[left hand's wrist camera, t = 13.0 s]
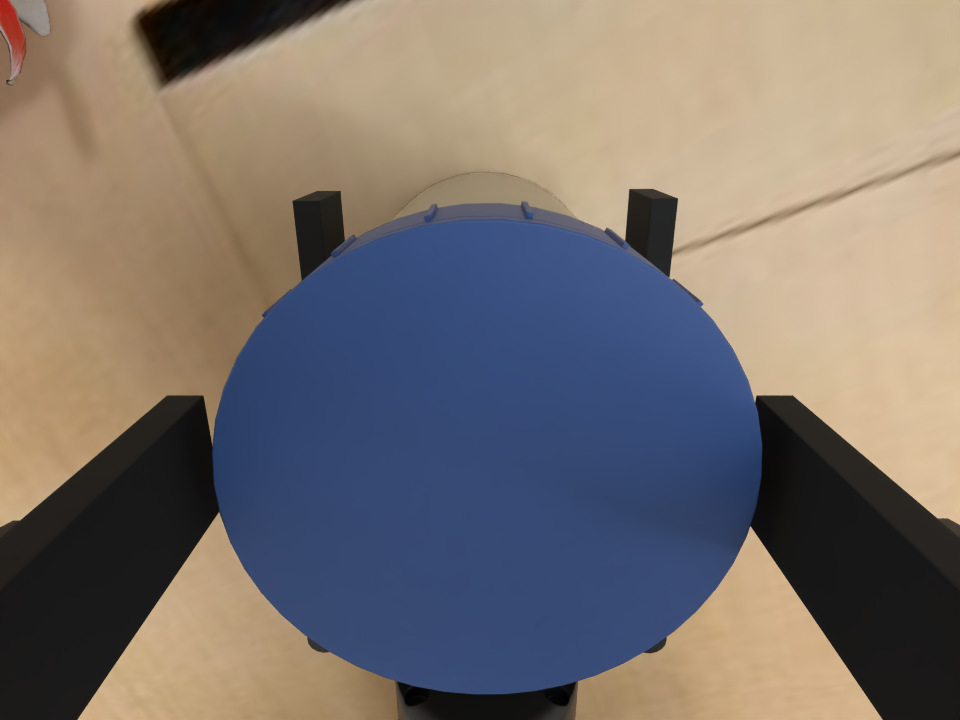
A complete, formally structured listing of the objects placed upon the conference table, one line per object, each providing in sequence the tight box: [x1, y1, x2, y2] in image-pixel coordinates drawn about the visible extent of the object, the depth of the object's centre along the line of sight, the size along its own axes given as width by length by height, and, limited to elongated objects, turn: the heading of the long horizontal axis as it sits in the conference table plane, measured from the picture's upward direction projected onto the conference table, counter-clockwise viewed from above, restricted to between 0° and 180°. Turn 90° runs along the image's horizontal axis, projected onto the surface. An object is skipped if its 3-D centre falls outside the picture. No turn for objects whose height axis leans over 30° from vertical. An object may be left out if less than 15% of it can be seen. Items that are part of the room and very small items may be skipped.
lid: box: [212, 201, 762, 694], centre depth 12 cm, size 10×10×2 cm
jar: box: [390, 172, 577, 222], centre depth 19 cm, size 9×9×15 cm
